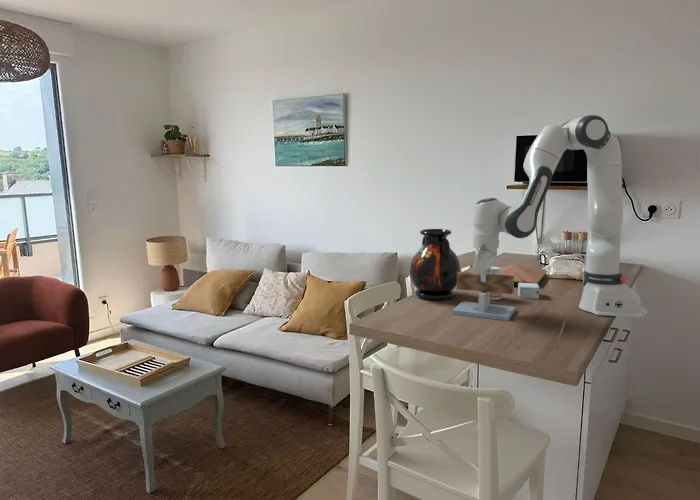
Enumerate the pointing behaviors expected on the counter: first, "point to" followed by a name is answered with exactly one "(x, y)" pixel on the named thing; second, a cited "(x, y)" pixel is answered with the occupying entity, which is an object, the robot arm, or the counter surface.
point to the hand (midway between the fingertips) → (485, 280)
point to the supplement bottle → (493, 295)
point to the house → (524, 273)
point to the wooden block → (491, 285)
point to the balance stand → (484, 309)
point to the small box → (528, 290)
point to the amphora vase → (435, 266)
